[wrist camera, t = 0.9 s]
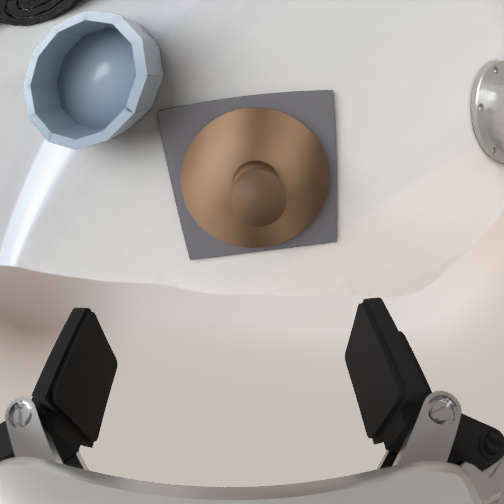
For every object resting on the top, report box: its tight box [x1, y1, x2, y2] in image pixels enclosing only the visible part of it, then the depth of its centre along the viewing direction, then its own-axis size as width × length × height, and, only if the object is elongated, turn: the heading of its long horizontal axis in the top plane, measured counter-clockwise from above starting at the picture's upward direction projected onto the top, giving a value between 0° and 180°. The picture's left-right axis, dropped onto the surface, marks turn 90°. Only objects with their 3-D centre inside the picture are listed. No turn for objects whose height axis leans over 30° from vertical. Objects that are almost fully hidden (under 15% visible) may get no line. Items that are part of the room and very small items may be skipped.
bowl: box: [23, 11, 164, 150], centre depth 19 cm, size 11×11×5 cm
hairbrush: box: [0, 0, 80, 26], centre depth 14 cm, size 8×4×25 cm
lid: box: [180, 107, 329, 248], centre depth 24 cm, size 13×13×6 cm
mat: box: [157, 90, 337, 260], centre depth 27 cm, size 15×15×1 cm
